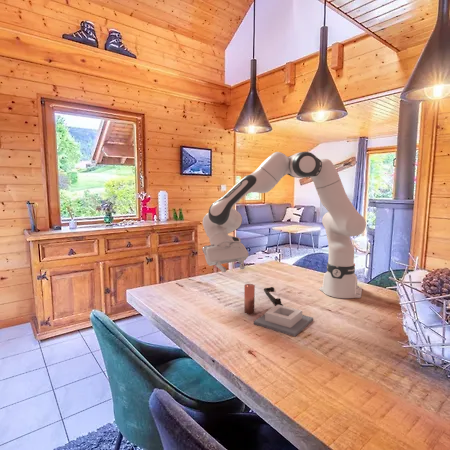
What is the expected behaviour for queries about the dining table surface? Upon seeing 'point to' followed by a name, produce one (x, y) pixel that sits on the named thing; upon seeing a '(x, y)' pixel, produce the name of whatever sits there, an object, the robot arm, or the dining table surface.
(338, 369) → the dining table surface
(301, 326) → the socket board
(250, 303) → the pin
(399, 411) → the dining table surface
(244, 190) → the robot arm
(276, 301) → the black hooked rod
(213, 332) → the dining table surface
